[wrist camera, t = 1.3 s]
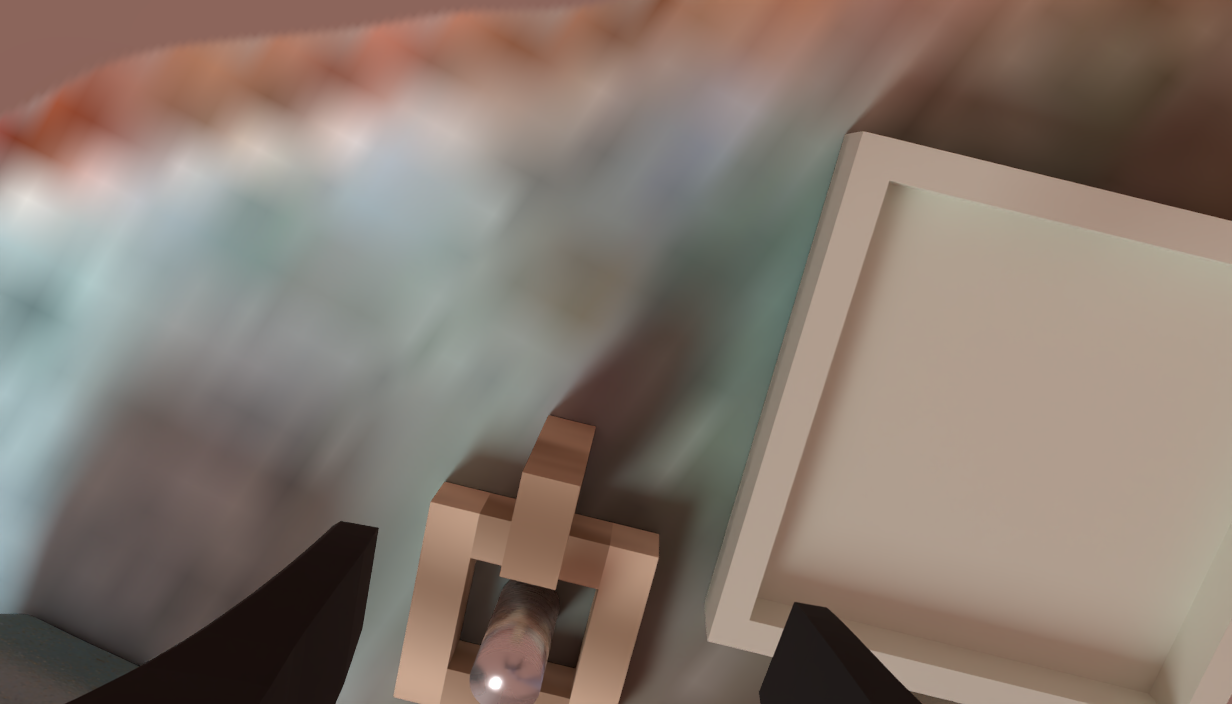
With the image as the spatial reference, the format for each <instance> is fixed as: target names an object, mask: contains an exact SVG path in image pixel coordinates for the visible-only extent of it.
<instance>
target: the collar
mask: <svg viewBox="0 0 1232 704" xmlns="http://www.w3.org/2000/svg"><path fill="white" fill-rule="evenodd" d="M595 429H596V427H595V426H591V425H587V424H583V423H579V422H575V421H571V420H567V419H563V418H559V417H555V416H550V415H548V417H547V420H546V422H545V424H544V426H543V428H542V431H541V433H540V435H539V437H538V439H537V441H536V444H535V446H534V448H533V450H532V452H531V455H530V457H529V459H528V461H527V463H526V465H525V468H524V470H523V472H522V476H521V481H520V485H519V490H518V494H517V499H514V498H510V497H505V496H501V495H497V494H493V493H489V492H485V491H481V490H477V489H473V488H469V487H465V486H461V485H457V484H452V483H448V482H444V483H443V485H442V486H441V488H440V489H439V490H438V492H437V493H436V495H435V496H434V498H433V499H432V501H431V503H430V508H429V513H428V518H427V524H426V529H425V534H424V539H423V545H422V550H421V555H420V560H419V566H418V571H417V576H416V581H415V586H414V592H413V597H412V602H411V607H410V613H409V618H408V623H407V628H406V634H405V639H404V644H403V649H402V655H401V660H400V665H399V670H398V675H397V681H396V686H395V691H394V696H393V697H396V698H400V699H404V700H408V701H412V702H416V703H420V704H480V703H479V702H478V701H477V700H476V698H475V697H474V695H473V693H472V691H471V688H470V683H469V678H470V673H471V670H472V667H473V665H474V662H475V659H476V657H477V654H478V651H479V649H480V646H481V645H477V644H473V643H469V642H465V641H461V640H459V639H460V635H461V630H462V625H463V621H464V616H465V611H466V606H467V602H468V597H469V592H470V588H471V583H472V578H473V573H474V569H475V564H476V559H477V560H481V561H485V562H489V563H493V564H497V565H501V566H502V567H501V571H500V577H504V578H508V579H512V580H516V581H520V582H524V583H528V584H532V585H536V586H540V587H545V588H549V589H553V590H556V586H557V582H558V580H562V581H567V582H571V583H575V584H579V585H583V586H587V587H591V588H595V589H596V591H595V595H594V599H593V603H592V606H591V610H590V614H589V618H588V622H587V626H586V630H585V633H584V637H583V641H582V645H581V649H580V653H579V657H578V661H577V664H576V668H571V667H567V666H563V665H558V664H554V663H550V662H547V664H546V668H545V672H544V677H543V681H542V685H541V690H540V693H539V696H538V698H537V700H536V701H535V703H534V704H618V702H619V699H620V695H621V692H622V688H623V684H624V681H625V677H626V674H627V670H628V666H629V663H630V659H631V656H632V652H633V649H634V645H635V641H636V638H637V634H638V631H639V627H640V623H641V620H642V616H643V613H644V609H645V605H646V602H647V598H648V595H649V591H650V588H651V584H652V580H653V577H654V573H655V570H656V566H657V562H658V559H659V534H656V533H652V532H648V531H644V530H640V529H636V528H632V527H628V526H624V525H620V524H616V523H611V522H607V521H603V520H599V519H595V518H591V517H587V516H583V515H579V514H575V511H576V506H577V502H578V498H579V494H580V490H581V486H582V482H583V478H584V474H585V470H586V465H587V461H588V457H589V453H590V449H591V445H592V441H593V437H594V433H595Z"/></svg>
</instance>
